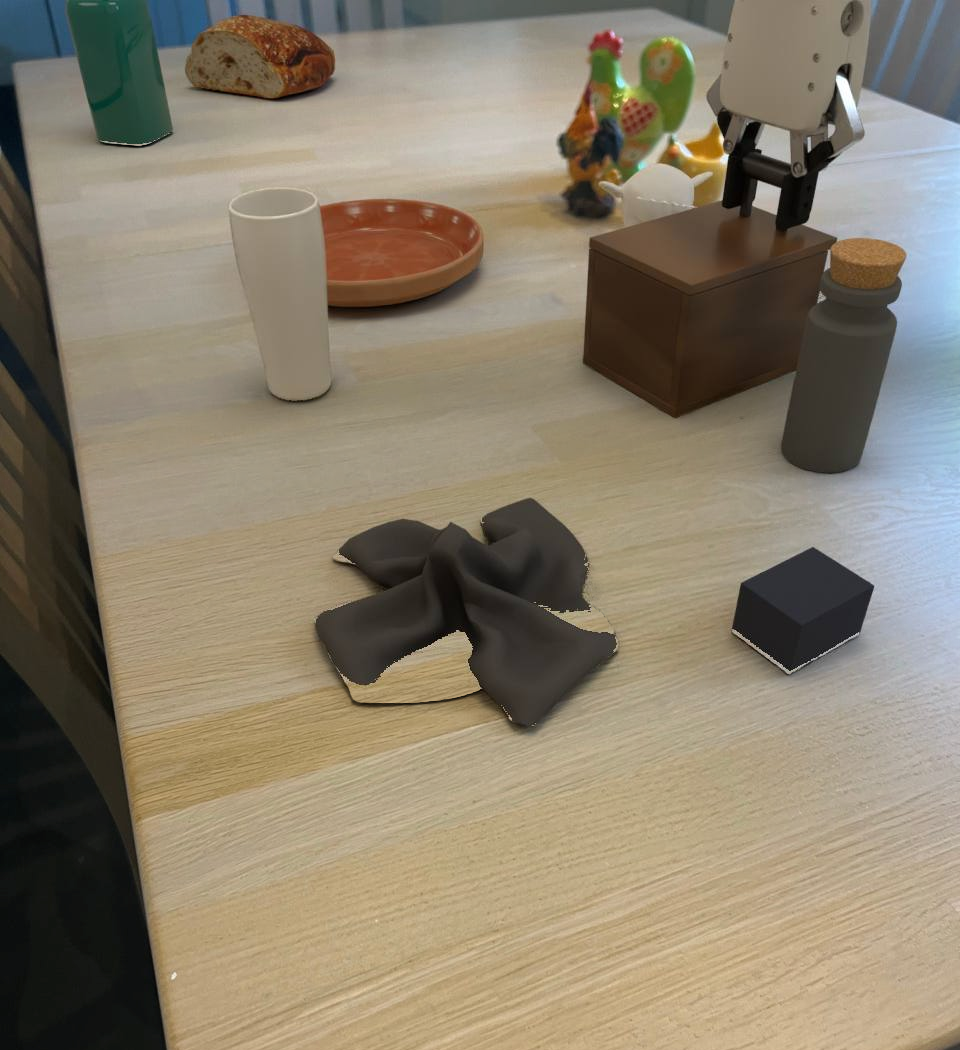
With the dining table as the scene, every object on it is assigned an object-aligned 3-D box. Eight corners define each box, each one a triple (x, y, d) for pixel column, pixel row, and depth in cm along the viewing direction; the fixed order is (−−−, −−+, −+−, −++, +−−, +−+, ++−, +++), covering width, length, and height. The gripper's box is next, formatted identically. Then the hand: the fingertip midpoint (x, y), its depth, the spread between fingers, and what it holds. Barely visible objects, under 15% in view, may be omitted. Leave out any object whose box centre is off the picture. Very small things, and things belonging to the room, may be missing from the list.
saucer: (212, 300, 98) (204, 262, 95) (324, 221, 113) (320, 186, 111) (429, 335, 91) (426, 296, 89) (516, 246, 107) (516, 210, 104)
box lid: (729, 207, 86) (739, 136, 83) (835, 247, 79) (852, 172, 75) (588, 247, 80) (592, 173, 76) (690, 295, 73) (700, 216, 69)
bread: (184, 89, 158) (170, 15, 152) (266, 65, 169) (256, -5, 163) (280, 107, 149) (270, 30, 143) (360, 80, 160) (353, 7, 154)
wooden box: (707, 319, 93) (722, 209, 86) (803, 367, 85) (828, 250, 79) (582, 363, 87) (588, 248, 80) (674, 418, 79) (690, 296, 73)
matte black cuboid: (800, 595, 63) (813, 546, 60) (859, 635, 60) (875, 585, 57) (730, 632, 60) (740, 582, 58) (788, 676, 57) (801, 625, 55)
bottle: (877, 466, 74) (935, 261, 64) (805, 479, 72) (853, 273, 62) (834, 427, 78) (882, 229, 68) (765, 439, 77) (804, 240, 67)
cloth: (620, 738, 54) (630, 653, 50) (280, 720, 55) (262, 636, 51) (616, 503, 71) (622, 425, 66) (353, 494, 72) (344, 416, 68)
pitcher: (145, 149, 135) (102, -49, 120) (92, 144, 137) (42, -51, 122) (184, 128, 142) (147, -61, 127) (132, 124, 144) (90, -63, 129)
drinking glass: (298, 362, 87) (272, 180, 78) (358, 382, 84) (338, 196, 75) (242, 393, 83) (206, 206, 73) (302, 416, 80) (274, 224, 70)
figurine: (585, 257, 109) (616, 258, 100) (581, 172, 106) (613, 165, 96) (690, 246, 111) (730, 246, 102) (689, 162, 108) (730, 154, 98)
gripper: (951, -50, 65) (881, 236, 77) (756, -77, 76) (722, 178, 88) (873, -38, 62) (813, 258, 74) (682, -67, 73) (657, 196, 85)
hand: (764, 212), depth 81 cm, fingers closed on box lid, 5 cm apart
